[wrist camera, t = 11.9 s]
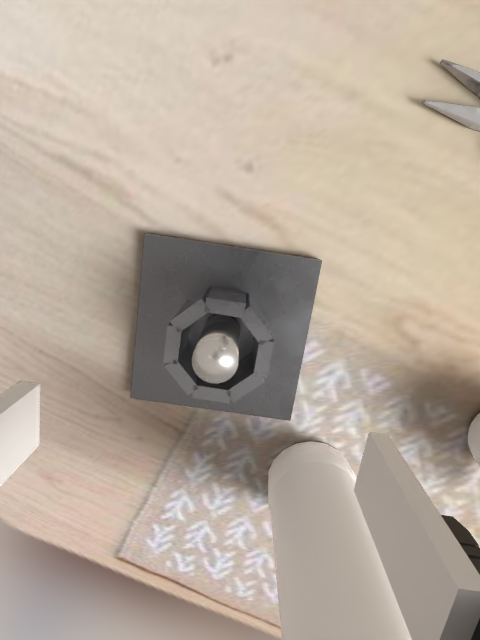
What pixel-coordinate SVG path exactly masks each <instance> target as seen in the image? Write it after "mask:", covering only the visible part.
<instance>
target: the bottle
mask: <svg viewBox="0 0 480 640" xmlns="http://www.w3.org/2000/svg"><path fill="white" fill-rule="evenodd" d="M356 480H357V479H356V476H355V474H354V472H353V470H352V469H351V467H350V466H349V464H348V461H347V460H346V459H345V457H344V456H343V455H342V454H341V453H340V452H339V451H338V450H337V449H335V448H333V447H331V446H329V445H328V444H325V443H319V442H313V441H309V442H302V443H296V444H294V445H292V446H290V447H288V448H286V449H284V450H283V451H282V452H281V453H280V454H279V455H278V456H277V457H276V458H275V459H274V460H273V462H272V465H271V467H270V469H269V472H268V503H269V508H270V511H271V522H272V533H273V545H274V556H275V567H276V578H277V589H278V600H279V612H280V623H281V634H282V640H412V639H411V636H410V634H409V631H408V628H407V626H406V623H405V621H404V618H403V616H402V613H401V610H400V608H399V605H398V603H397V600H396V598H395V595H394V592H393V590H392V587H391V585H390V582H389V580H388V577H387V574H386V572H385V569H384V567H383V564H382V562H381V559H380V557H379V554H378V551H377V549H376V546H375V544H374V541H373V539H372V536H371V533H370V531H369V528H368V526H367V523H366V521H365V518H364V515H363V513H362V510H361V508H360V505H359V503H358V500H357V497H356V495H355V492H354V487H355V483H356Z"/></svg>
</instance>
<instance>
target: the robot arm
mask: <svg viewBox="0 0 480 640" xmlns="http://www.w3.org/2000/svg"><path fill="white" fill-rule="evenodd" d="M39 432H40V384H39V383H33V382H26V381H20V382H18V383H17V384H15V385H14V386H13V387H11V388H10V389H8V390H7V391H5V392H4V393H2V394H1V395H0V486H1V485H2V484H3V483H4V482H5V481H6V480H7V479H8V478H9V477H10V476H11V474H12V473H13V472H14V471H15V470H16V469H17V468H18V467H19V466H20V465H21V464H22V463H23V462H24V461H25V460H26V459H27V457H28V456H29V455H30V454H31V453H32V452H33V451H34V450H35V449H36V448H37V447H38V446H39ZM354 492H355V495H356V497H357V500H358V503H359V505H360V508H361V510H362V513H363V515H364V518H365V521H366V523H367V526H368V528H369V531H370V533H371V536H372V539H373V541H374V544H375V546H376V549H377V551H378V554H379V557H380V559H381V562H382V564H383V567H384V569H385V572H386V574H387V577H388V580H389V582H390V585H391V587H392V590H393V592H394V595H395V598H396V600H397V603H398V605H399V608H400V610H401V613H402V616H403V618H404V621H405V623H406V626H407V628H408V631H409V634H410V636H411V639H412V640H480V548H479V545H478V544H477V542H476V541H475V539H474V538H473V537H472V535H471V534H470V532H469V531H468V530H467V529H466V528H465V527H464V526H463V525H461V524H460V523H459V522H458V521H457V520H456V519H455V518H454V517H451V516H444V515H440V513H439V512H438V510H437V509H436V507H435V506H434V504H433V503H432V501H431V499H430V498H429V496H428V495H427V493H426V492H425V490H424V489H423V487H422V486H421V484H420V483H419V481H418V480H417V478H416V477H415V475H414V473H413V472H412V470H411V469H410V467H409V466H408V464H407V463H406V461H405V460H404V458H403V457H402V455H401V454H400V452H399V451H398V449H397V447H396V446H395V444H394V443H393V441H392V440H391V438H390V437H389V435H388V434H381V433H374V432H369V434H368V438H367V442H366V445H365V449H364V453H363V457H362V461H361V464H360V468H359V472H358V476H357V480H356V483H355V487H354Z"/></svg>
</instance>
